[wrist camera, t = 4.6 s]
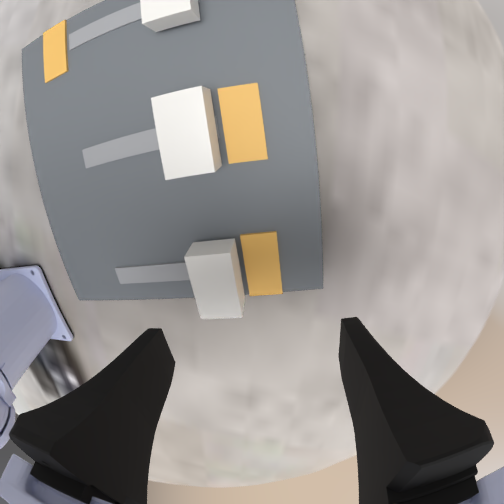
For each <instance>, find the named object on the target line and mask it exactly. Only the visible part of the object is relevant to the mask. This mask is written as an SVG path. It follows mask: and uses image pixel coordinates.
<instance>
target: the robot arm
mask: <svg viewBox="0 0 504 504" xmlns="http://www.w3.org/2000/svg"><path fill="white" fill-rule="evenodd" d="M49 339H57V340H65V341H71V340H72V339H73V335H72V333H71V331H70V330H69V328H68V326H67V324H66V322H65V320H64V318H63V316H62V314H61V312H60V310H59V308H58V306H57V304H56V302H55V300H54V298H53V295H52V293H51V291H50V289H49V287H48V284H47V282H46V280H45V277H44V275H43V273H42V270H41V268H40V267H39V266H37V265H35V266H25V267H16V268H7V269H0V449H1V448H2V447H3V446H4V445H5V444H6V443H7V441H8V440H9V438H11V440H12V441H13V442H14V443H15V444H16V445H17V446H18V447H19V448H21V450H23V451H24V452H25V453H26V454H27V455H28V456H30V457H31V458H32V459H33V460H34V461H35V464H34V466H33V465H31V464H30V463H28V462H27V461H25V460H24V459H22V458H20V457H18V456H17V455H15V454H12V456H11V458H10V460H9V462H8V464H7V466H6V468H5V471H4V472H3V475H2V477H1V479H0V496H1V497H2V498H3V499H5V500H6V501H7V502H8V503H10V504H147V484H148V473H149V464H150V457H151V450H152V445H153V440H154V435H155V431H156V427H157V424H158V421H159V418H160V415H161V412H162V409H163V406H164V403H165V400H166V398H167V395H168V392H169V389H170V386H171V382H172V377H173V373H174V367H175V361H174V358H173V356H172V354H171V351H170V349H169V346H168V344H167V341H166V339H165V337H164V334H163V331H162V329H156V328H149V329H147V330H146V331H145V332H144V333H143V334H142V335H140V336H139V337H138V338H137V339H136V340H135V341H134V342H133V343H132V344H131V345H130V346H129V347H128V348H126V349H125V350H124V351H123V352H122V353H121V354H120V355H119V356H118V357H117V358H116V359H115V360H113V361H112V362H111V363H110V364H109V365H107V366H106V367H105V368H104V369H103V370H102V371H100V372H99V373H98V374H97V375H95V376H94V377H93V378H91V379H90V380H89V381H87V382H86V383H84V384H83V385H82V386H80V387H78V388H77V389H75V390H73V391H72V392H70V393H68V394H67V395H65V396H63V397H61V398H60V399H58V400H56V401H53V402H51V403H49V404H47V405H45V406H42V407H40V408H37V409H34V410H31V411H28V412H25V413H22V414H20V415H19V417H18V418H17V420H16V422H15V409H14V406H13V405H12V403H13V402H14V400H15V399H16V396H15V395H14V394H13V392H12V390H13V388H14V387H15V385H16V384H17V382H18V381H19V379H20V378H21V377H22V375H23V374H24V372H25V371H26V370H27V368H28V367H29V366H30V364H31V363H32V361H33V360H34V359H35V357H36V356H37V355H38V353H39V352H40V351H41V350H42V348H43V347H44V346H45V344H46V343H47V342H48V340H49ZM339 362H340V370H341V377H342V381H343V385H344V389H345V393H346V397H347V401H348V405H349V409H350V413H351V417H352V421H353V426H354V432H355V441H356V450H357V463H358V480H359V504H504V467H502V468H500V469H498V470H496V471H494V472H493V473H491V474H489V475H487V476H485V477H483V478H481V479H480V480H478V481H477V482H476V480H475V475H476V474H477V472H478V471H477V467H476V464H477V463H478V462H479V461H480V460H481V459H482V458H483V457H484V456H485V455H486V454H487V453H488V452H489V451H490V450H491V449H492V447H493V445H494V441H493V439H492V436H491V433H490V431H489V429H488V427H487V425H486V423H485V421H484V420H482V419H479V418H477V417H475V416H472V415H470V414H468V413H465V412H463V411H462V410H459V409H458V408H456V407H454V406H452V405H451V404H449V403H447V402H445V401H443V400H442V399H441V398H439V397H438V396H436V395H435V394H433V393H432V392H430V391H429V390H427V389H426V388H425V387H423V386H422V385H421V384H419V383H418V382H417V381H416V380H415V379H413V378H412V377H411V376H410V375H409V374H408V373H407V372H405V371H404V370H403V369H402V368H401V367H400V366H399V365H398V364H397V363H396V362H395V361H394V360H393V359H392V358H391V357H390V356H389V355H388V354H387V352H386V351H385V350H384V349H383V348H382V347H381V346H380V345H379V343H378V342H377V341H376V340H375V339H374V338H373V336H372V335H371V334H370V333H369V331H368V330H367V329H366V328H365V326H364V325H363V324H362V322H361V321H360V320H359V319H358V318H357V317H353V318H344V319H341V331H340V345H339Z"/></svg>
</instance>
